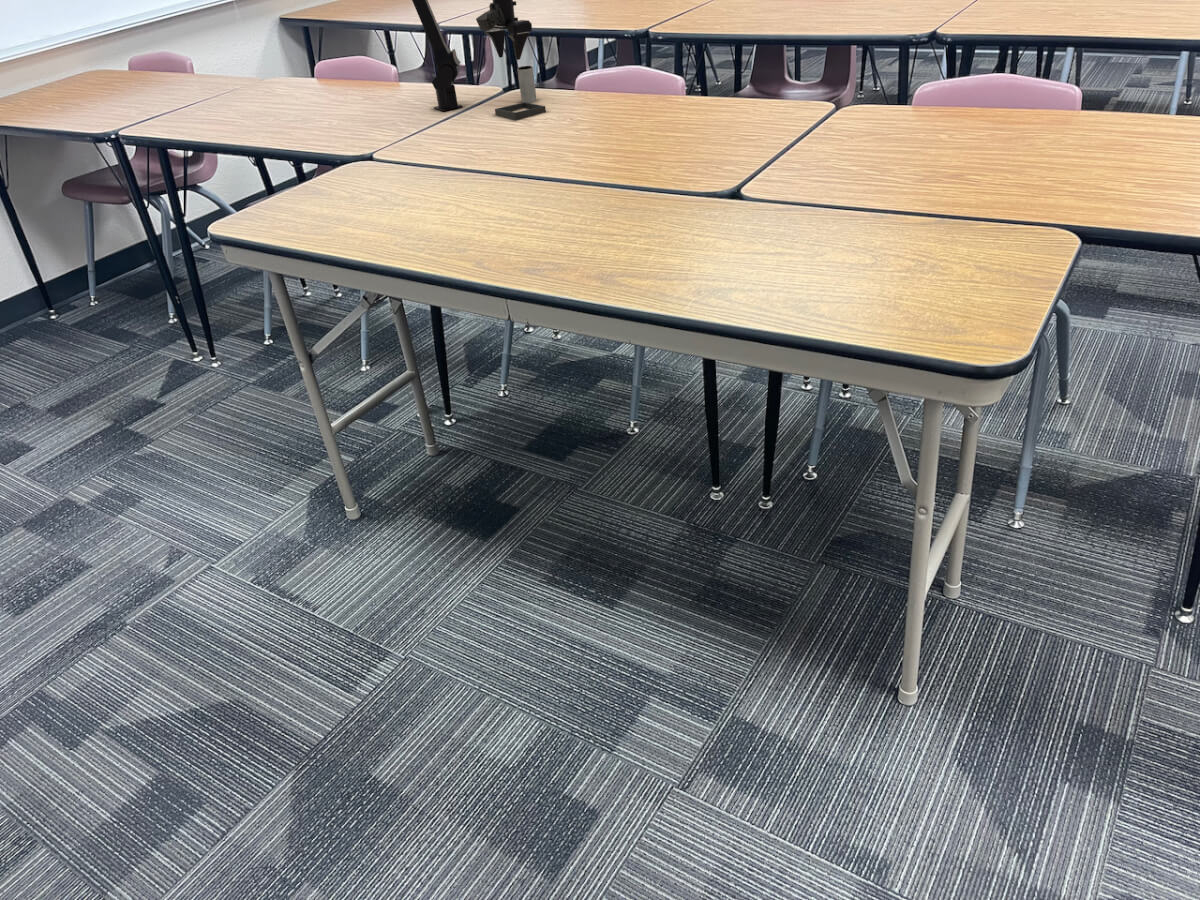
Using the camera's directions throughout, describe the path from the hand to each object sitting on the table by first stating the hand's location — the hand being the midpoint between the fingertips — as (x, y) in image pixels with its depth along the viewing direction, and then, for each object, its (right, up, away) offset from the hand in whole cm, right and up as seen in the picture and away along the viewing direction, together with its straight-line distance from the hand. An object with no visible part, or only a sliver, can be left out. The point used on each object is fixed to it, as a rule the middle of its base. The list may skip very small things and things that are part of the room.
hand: (509, 58), depth 247 cm
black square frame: (+4, -19, -6) cm, 20 cm away
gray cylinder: (+5, -11, +6) cm, 14 cm away
